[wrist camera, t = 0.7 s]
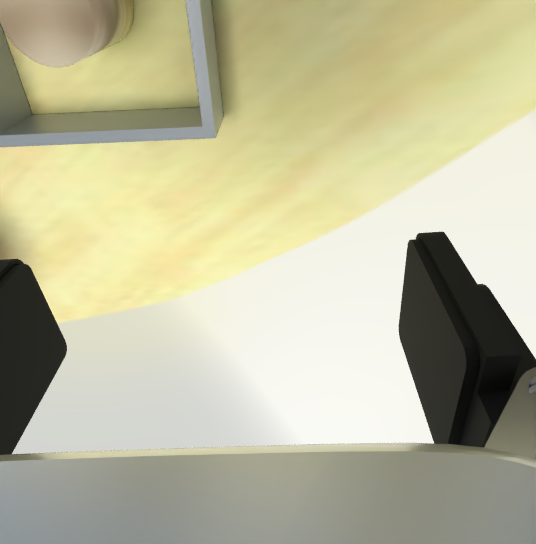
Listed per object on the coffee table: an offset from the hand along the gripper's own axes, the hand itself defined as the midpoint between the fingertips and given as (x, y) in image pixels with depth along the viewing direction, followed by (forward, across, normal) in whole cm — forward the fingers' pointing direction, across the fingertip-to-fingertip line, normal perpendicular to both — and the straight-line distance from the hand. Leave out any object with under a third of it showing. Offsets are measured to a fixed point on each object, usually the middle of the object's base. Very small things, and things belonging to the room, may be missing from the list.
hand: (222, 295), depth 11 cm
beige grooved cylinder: (+26, +10, -6) cm, 28 cm away
